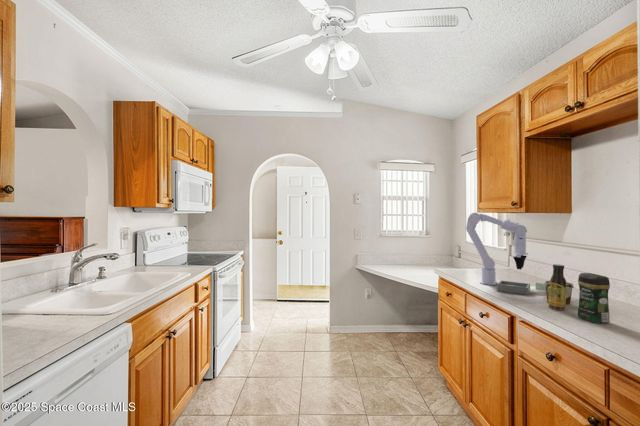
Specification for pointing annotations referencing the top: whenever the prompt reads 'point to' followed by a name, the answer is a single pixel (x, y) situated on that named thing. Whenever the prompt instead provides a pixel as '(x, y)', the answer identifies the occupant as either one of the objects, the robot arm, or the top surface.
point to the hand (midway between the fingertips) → (520, 268)
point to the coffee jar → (593, 298)
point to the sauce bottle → (557, 288)
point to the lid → (538, 287)
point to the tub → (514, 287)
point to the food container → (568, 291)
